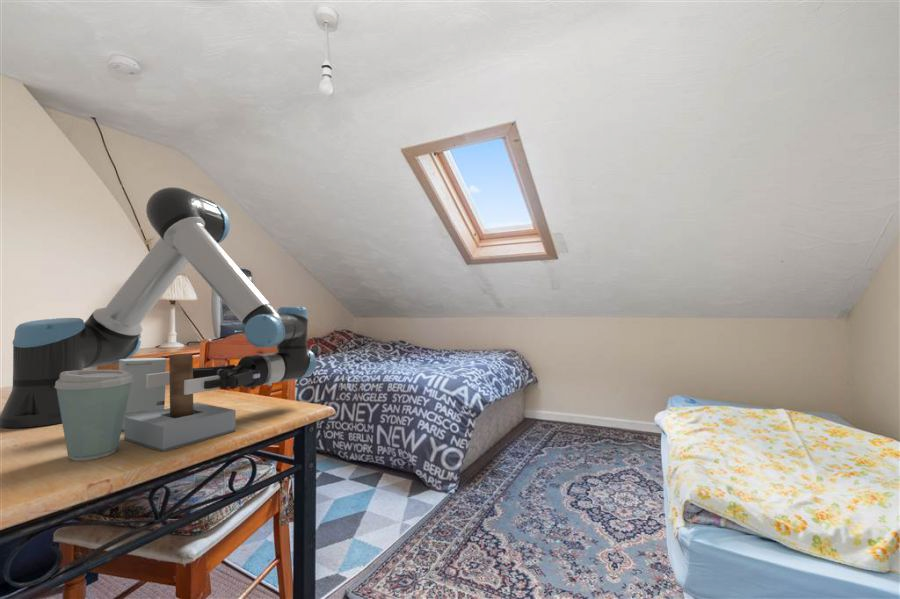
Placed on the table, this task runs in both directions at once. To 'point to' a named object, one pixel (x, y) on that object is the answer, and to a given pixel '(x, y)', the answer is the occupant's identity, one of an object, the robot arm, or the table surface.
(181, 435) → the bore block
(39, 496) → the table surface
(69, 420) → the disposable coffee cup
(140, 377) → the skincare box
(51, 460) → the table surface
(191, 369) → the walnut dowel
